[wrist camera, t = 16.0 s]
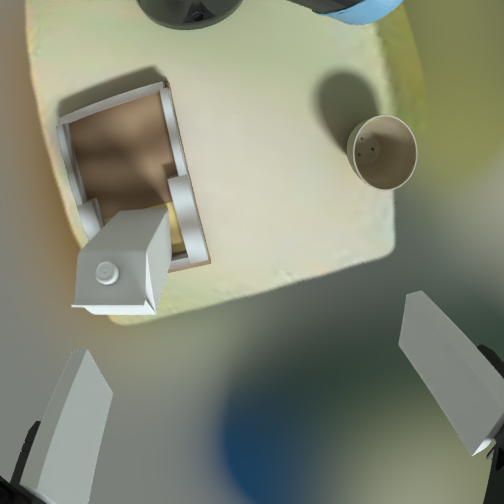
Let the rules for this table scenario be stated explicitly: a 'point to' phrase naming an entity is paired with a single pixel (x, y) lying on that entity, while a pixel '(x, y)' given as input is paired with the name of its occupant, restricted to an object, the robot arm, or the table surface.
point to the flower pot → (382, 152)
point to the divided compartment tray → (133, 167)
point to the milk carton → (125, 264)
